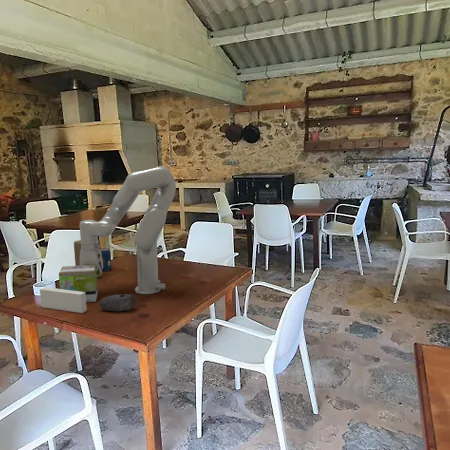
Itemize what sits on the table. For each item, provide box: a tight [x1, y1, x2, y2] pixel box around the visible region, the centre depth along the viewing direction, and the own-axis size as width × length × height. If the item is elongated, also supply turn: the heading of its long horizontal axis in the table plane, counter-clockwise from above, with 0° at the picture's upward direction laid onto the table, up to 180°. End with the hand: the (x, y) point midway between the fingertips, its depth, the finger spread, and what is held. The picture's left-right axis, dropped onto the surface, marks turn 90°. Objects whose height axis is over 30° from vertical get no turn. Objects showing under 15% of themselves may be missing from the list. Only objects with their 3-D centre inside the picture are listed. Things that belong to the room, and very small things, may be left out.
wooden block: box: [73, 239, 103, 279], centre depth 210 cm, size 10×10×20 cm
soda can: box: [100, 247, 112, 272], centre depth 223 cm, size 7×7×12 cm
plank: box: [39, 286, 88, 314], centre depth 168 cm, size 21×3×8 cm, turn 71°
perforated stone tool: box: [99, 293, 137, 312], centre depth 167 cm, size 15×5×7 cm, turn 88°
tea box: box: [58, 265, 98, 303], centre depth 178 cm, size 15×10×15 cm
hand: (92, 284), depth 187 cm, fingers closed
